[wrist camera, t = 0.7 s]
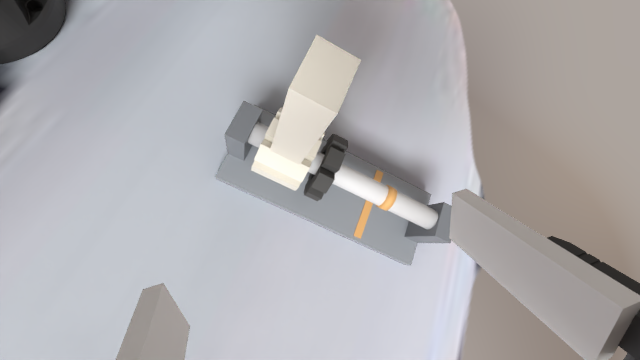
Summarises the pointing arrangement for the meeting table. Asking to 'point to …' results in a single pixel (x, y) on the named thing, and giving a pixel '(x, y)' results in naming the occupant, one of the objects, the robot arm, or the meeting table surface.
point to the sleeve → (306, 114)
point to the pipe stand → (340, 194)
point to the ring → (326, 168)
